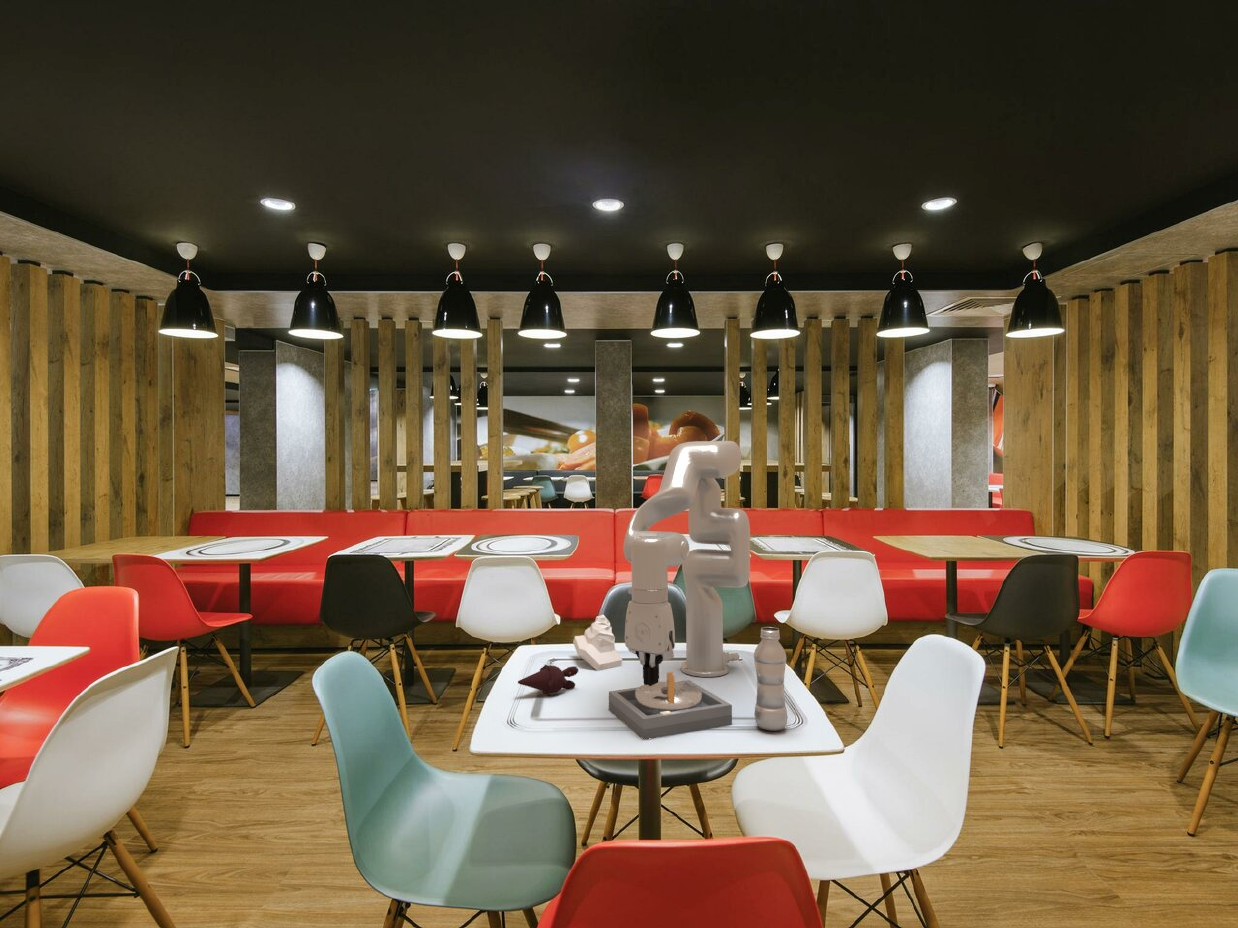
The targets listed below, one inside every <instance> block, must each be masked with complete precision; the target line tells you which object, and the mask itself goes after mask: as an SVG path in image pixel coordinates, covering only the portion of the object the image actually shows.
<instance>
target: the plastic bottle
mask: <svg viewBox="0 0 1238 928" xmlns="http://www.w3.org/2000/svg"><path fill="white" fill-rule="evenodd" d="M760 639H761V641H760V642H759V643H758V645H757V646H756V648H755V649H754V653H753V658H754V665H755V671H756V673H755V674H756V681H757V682H756V687H757V688H756V699H755V700H756V701H755V702H756V703H755V706H754V720H755V724H756V725H757V726H758V728H760V729H762V730H766V731H771V732H773V731H775V732H779V731H782V730H785V728H786V726H787V724H788V720H789V718H788V710H787V706H786V698H785V697H786V696H785V671H786V663H787V654H786V651H785V649H784V647H783V646H782V644H781V643H780V642H779V640H780V639H781V636H780V629H779V628H778V627H771V626H764V627H761V628H760Z"/></svg>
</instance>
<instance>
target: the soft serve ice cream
mask: <svg viewBox="0 0 1238 928" xmlns="http://www.w3.org/2000/svg"><path fill="white" fill-rule="evenodd" d="M612 629H613V627H612V626H611V622H610V620H609V619H608V618H607V617H606V616H605V615H604V614H600V615H598V616H596V617H595V620H594V621H593V622H592V623H591V624H590V626H589V627H587V629H585V631H584V635H583V634H582V635H575V636H573V637H574V638H573V642H572V643H573V646H574V648H575V649H574V650H575V651H576V654H577V655H578V656H579V657H580V658H581V659H582V660H584V661H585V663H587V664H588V665H590V666H591V667H592V669H593V668H594V670H596V671H604V670H608V669H609V670H610V669H612V668H617V667H622V664H623V658H622V657H621V655H620V653H619V652H618V651H617V650H616V646H615V641H616V636H615V635H614V633H613V631H612Z"/></svg>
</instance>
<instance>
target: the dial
mask: <svg viewBox="0 0 1238 928" xmlns="http://www.w3.org/2000/svg"><path fill="white" fill-rule="evenodd" d="M637 687H638V688H637ZM637 687H636V688H637V689H636V691H635V707H636V708H638V709H639V710H640V711H642V712H643V713H644V714H646V715H655V714H660V712H664V711H670V712H673V711H680V710H686V709H692V708H698V707H702V692H701V690H700V689H699V688H697V687H695V686H693V685H690V684H686V683H680V682H679V681H676V680H675V675H674V673H673V672H672V671H668V672H666V681H658V683H656V684H654V685H652V686H648V685H644V684H641V685H640V686H637Z"/></svg>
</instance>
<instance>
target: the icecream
mask: <svg viewBox="0 0 1238 928" xmlns="http://www.w3.org/2000/svg"><path fill="white" fill-rule="evenodd" d="M578 673H579V669H578V667H577V666H568V667H567V668H565V669H561V668H560V667H558V666H556V665H548V664H544V665H543V666H541V668H540V669H539V671H537V672H535V673H533V674H530V675H528V676H525V677H524V678H522V679H519V680H518V681H517V684H519V685H522V686H526V687H529V688H532V689H534V690H538V691H541V692H542V694H543V695H546V696H547V697H548V696H550V695H551V694H555V693H556V694H557V693H558V692H560V691H561V690H562V689H563V690H568V691H569V690H572V689H574V688H575V687H576V682H574V681H573V680H569V679H567V678H572V677H574V676H576V675H577V674H578Z"/></svg>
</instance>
